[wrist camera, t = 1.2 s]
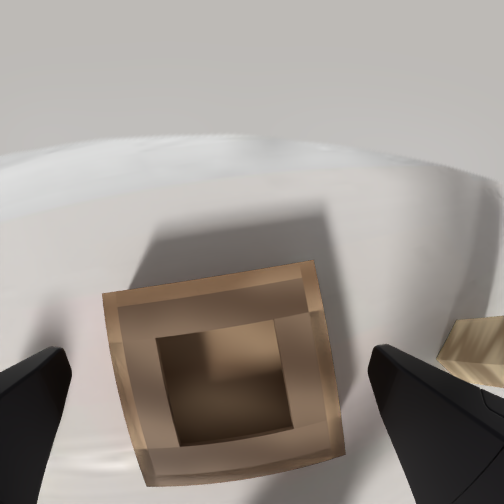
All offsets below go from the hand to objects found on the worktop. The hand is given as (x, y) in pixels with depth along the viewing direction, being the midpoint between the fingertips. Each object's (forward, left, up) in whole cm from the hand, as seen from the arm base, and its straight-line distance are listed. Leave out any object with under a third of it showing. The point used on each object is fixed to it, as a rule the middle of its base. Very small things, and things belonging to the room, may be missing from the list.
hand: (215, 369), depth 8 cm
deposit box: (-3, 0, -15) cm, 15 cm away
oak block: (-7, -22, -15) cm, 27 cm away
